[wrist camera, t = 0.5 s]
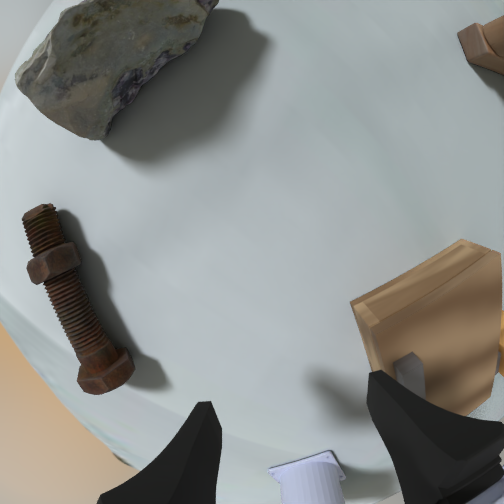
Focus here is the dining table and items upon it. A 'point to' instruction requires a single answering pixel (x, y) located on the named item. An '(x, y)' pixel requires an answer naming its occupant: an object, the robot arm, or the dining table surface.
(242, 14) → the dining table surface
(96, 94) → the mineral rock
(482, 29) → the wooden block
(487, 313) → the lid
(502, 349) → the brown block
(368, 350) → the brown wooden open box
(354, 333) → the dining table surface
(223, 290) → the dining table surface
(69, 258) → the bolt
